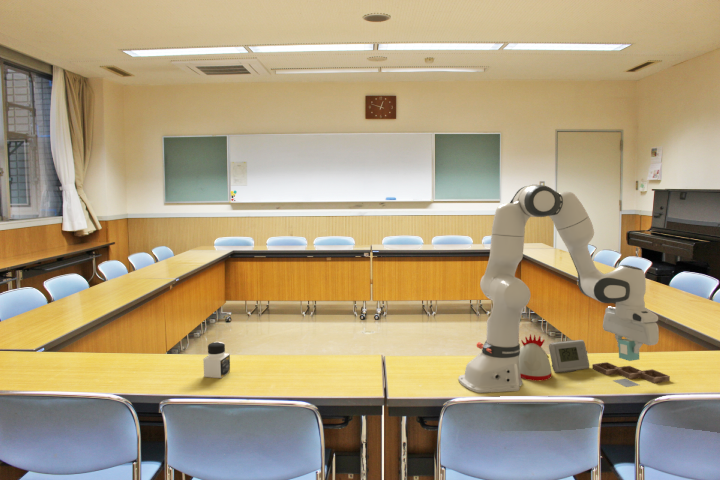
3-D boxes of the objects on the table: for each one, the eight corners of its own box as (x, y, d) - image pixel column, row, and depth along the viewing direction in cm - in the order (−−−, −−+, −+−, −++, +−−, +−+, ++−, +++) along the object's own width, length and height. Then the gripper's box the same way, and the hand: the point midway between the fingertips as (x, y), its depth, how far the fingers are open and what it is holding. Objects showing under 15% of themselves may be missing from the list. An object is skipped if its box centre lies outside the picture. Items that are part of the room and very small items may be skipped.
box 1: (606, 376, 172) (607, 370, 172) (592, 369, 179) (592, 364, 179) (621, 374, 174) (622, 368, 174) (606, 367, 181) (607, 362, 181)
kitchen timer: (552, 382, 167) (553, 341, 165) (511, 378, 171) (512, 338, 170) (550, 369, 180) (551, 331, 178) (512, 365, 184) (513, 328, 183)
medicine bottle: (221, 378, 171) (220, 346, 170) (203, 377, 173) (202, 345, 172) (230, 371, 178) (229, 340, 177) (213, 370, 180) (212, 339, 179)
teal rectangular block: (629, 361, 161) (628, 342, 161) (618, 357, 166) (618, 339, 166) (639, 359, 163) (638, 340, 163) (628, 356, 167) (628, 338, 167)
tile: (626, 388, 162) (626, 387, 161) (612, 381, 167) (612, 380, 167) (639, 385, 163) (639, 384, 163) (625, 379, 169) (625, 378, 169)
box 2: (630, 380, 168) (630, 374, 168) (614, 373, 175) (614, 367, 175) (645, 378, 170) (645, 372, 170) (628, 371, 177) (629, 365, 177)
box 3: (654, 384, 165) (654, 378, 164) (637, 377, 171) (637, 371, 171) (669, 382, 167) (669, 376, 166) (652, 375, 173) (652, 369, 173)
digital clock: (553, 374, 175) (554, 346, 174) (542, 365, 184) (543, 339, 183) (595, 372, 176) (596, 345, 175) (581, 364, 185) (582, 338, 184)
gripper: (599, 305, 172) (597, 342, 173) (648, 319, 152) (646, 360, 154) (612, 304, 174) (611, 340, 175) (662, 317, 154) (661, 358, 155)
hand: (628, 350), depth 164 cm, fingers closed on teal rectangular block, 5 cm apart
